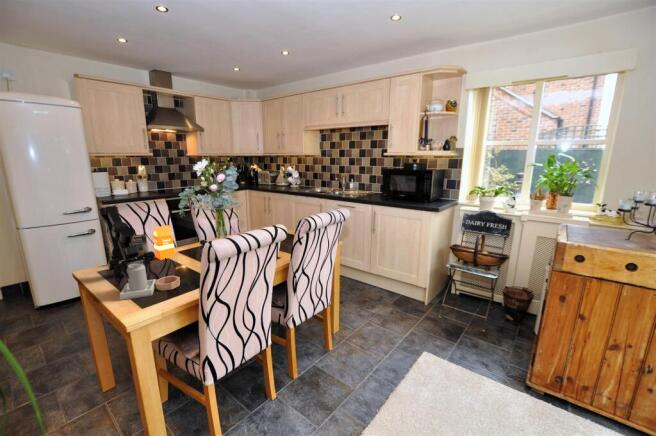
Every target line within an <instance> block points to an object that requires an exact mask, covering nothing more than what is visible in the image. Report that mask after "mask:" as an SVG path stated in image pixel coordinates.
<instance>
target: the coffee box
mask: <svg viewBox="0 0 656 436" xmlns="http://www.w3.org/2000/svg"><path fill="white" fill-rule="evenodd" d="M133 244H134V246H137V244H142V246H143V250H141V251H139V255H138V257H139V256H144V253H145V252H150V251H149V244H148V235H147V233H143V234H135V235H134V240H133ZM134 263H143V260H140V261H135V262H131V264H134Z"/></svg>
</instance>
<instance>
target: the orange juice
mask: <svg viewBox="0 0 656 436" xmlns="http://www.w3.org/2000/svg"><path fill="white" fill-rule="evenodd" d="M152 240H153V247H154V254H155V258H157V259H158V260H160V261H162V260H166V259H168V258H169V257H170V258H173V257H172V256H174V257H175V246H174V238H173V232H172V231H171V228H170V226H169V224H168V225H162V226H156V227H154V229H153V234H152ZM165 258H166V259H165Z"/></svg>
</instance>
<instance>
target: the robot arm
mask: <svg viewBox="0 0 656 436" xmlns="http://www.w3.org/2000/svg"><path fill="white" fill-rule="evenodd" d="M97 215H98V217H100V219H101V221H102V222H103V223H105V225H106V228H107V232H108V235H109V239H110V243H111V246H112V251H111V253H110V257H109V260H108V264H107V267H108V270H109V271H110V272H111V271H113V273H114V276H113V278H114V279H117V278H124V277H125V278H126V279H127V280H128V278H129V276H128V274H127V268H128V266H129V265H130V264H132V262H135V261H140V260H143V262H142V263H143V265H144V266H145V270H146V275H147V274H148V272H149V271H148V270H149V269H148V268H149V264H150V262H153V261H154V260H155V258H156V255H155V251H152V250H151V251H149V252H145V253H144V256H139V257H138V255H139V251H141V250H143V246H142V244H137V246H134V244H133V240H134V235H136V230H135V229H134V228H133V227H131V226H129V225H128V223H126V222H124V221H123V219H122V217H121V215H120V212H119V208H118V206H116V205H108V206H103V207H99V208H98V209H97Z"/></svg>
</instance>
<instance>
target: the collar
mask: <svg viewBox="0 0 656 436" xmlns="http://www.w3.org/2000/svg"><path fill="white" fill-rule="evenodd" d="M180 279H181V278H180V276H177V275H168V276H162V277H160V278H159V279H156V282H155V286H156V287H155V290H158V291H169V290H174V289H175V288H178V287H180V285H181V284H180V283H181V280H180Z"/></svg>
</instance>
